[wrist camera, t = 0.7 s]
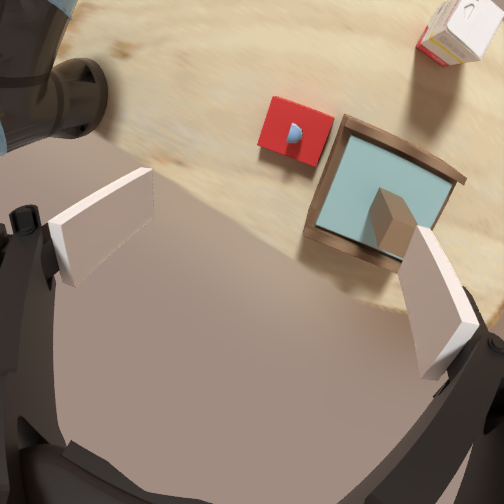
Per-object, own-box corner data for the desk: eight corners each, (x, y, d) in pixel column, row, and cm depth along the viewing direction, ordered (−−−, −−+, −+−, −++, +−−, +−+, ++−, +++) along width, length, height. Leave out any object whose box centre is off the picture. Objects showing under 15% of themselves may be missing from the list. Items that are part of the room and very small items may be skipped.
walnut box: (309, 208, 43) (302, 235, 35) (344, 113, 35) (347, 118, 27) (400, 245, 41) (411, 279, 34) (442, 160, 34) (467, 178, 26)
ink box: (443, 69, 28) (481, 63, 18) (413, 46, 27) (443, 30, 17) (467, 27, 23) (507, 12, 13) (438, 5, 23) (470, -20, 13)
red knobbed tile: (334, 117, 36) (334, 120, 30) (316, 162, 39) (313, 173, 34) (276, 96, 36) (266, 96, 31) (261, 141, 40) (249, 149, 35)
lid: (316, 220, 36) (308, 264, 27) (350, 133, 30) (357, 149, 21) (408, 258, 35) (425, 309, 26) (449, 181, 29) (484, 215, 20)
